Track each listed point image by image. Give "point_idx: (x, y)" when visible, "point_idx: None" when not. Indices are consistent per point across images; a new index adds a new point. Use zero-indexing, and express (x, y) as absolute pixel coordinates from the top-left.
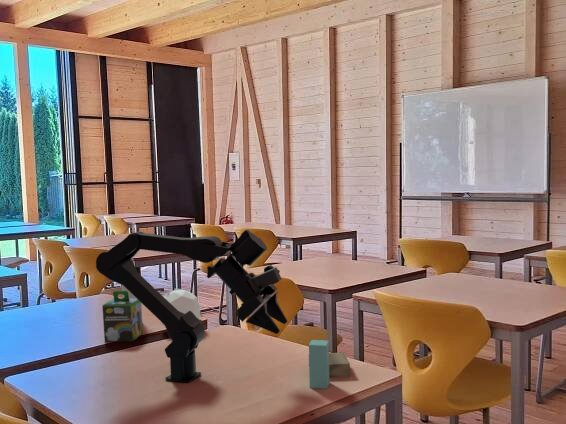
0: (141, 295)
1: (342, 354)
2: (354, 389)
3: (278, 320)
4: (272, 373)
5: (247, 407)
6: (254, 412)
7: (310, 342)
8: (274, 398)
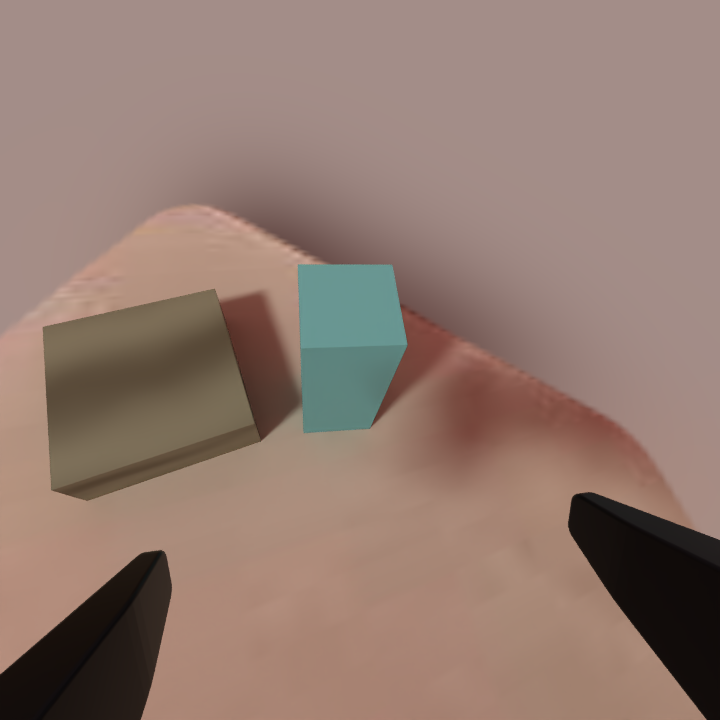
0: None
1: (77, 327)
2: None
3: (147, 693)
4: (217, 673)
5: None
6: None
7: (357, 345)
8: (515, 531)
